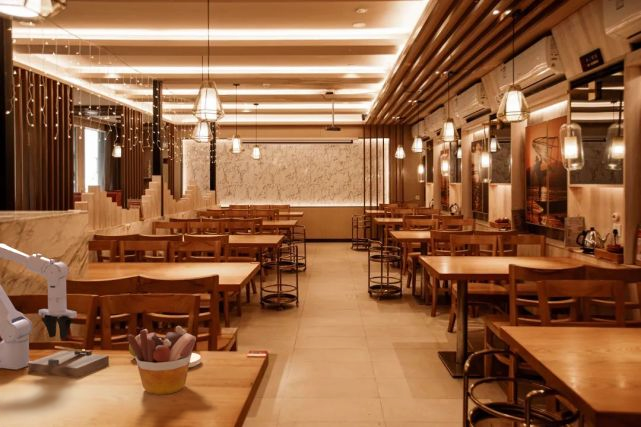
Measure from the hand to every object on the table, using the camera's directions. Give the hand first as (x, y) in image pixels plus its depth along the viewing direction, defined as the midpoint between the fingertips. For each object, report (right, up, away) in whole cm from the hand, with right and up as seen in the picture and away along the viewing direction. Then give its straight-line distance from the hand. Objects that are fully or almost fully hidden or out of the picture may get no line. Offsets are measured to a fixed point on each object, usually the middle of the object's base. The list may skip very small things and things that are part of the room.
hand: (58, 337), depth 191 cm
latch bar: (+5, -4, -1) cm, 7 cm away
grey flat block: (+5, -10, -2) cm, 11 cm away
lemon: (+24, -10, +9) cm, 28 cm away
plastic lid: (+41, -10, +1) cm, 43 cm away
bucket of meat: (+43, -11, -24) cm, 50 cm away
